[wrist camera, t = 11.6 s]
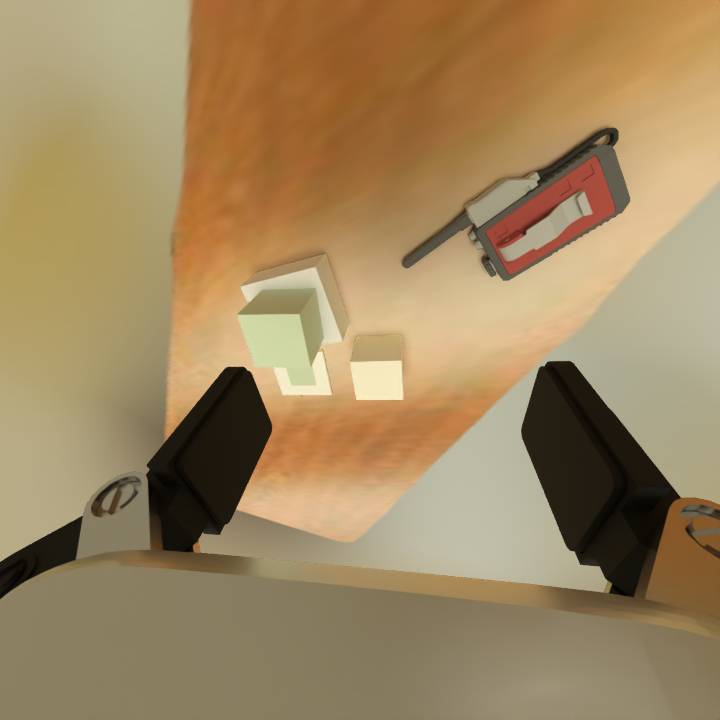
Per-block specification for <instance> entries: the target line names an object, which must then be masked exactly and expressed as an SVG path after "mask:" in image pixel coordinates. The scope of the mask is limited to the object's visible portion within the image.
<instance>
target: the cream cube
mask: <svg viewBox="0 0 720 720" xmlns="http://www.w3.org/2000/svg"><path fill="white" fill-rule="evenodd" d="M350 364H351V370H352V377H353V383H354V389H355V395H356V400H403V350H402V334H401V335H375V336H357V337H356V341H355V345H354V349H353V352H352V356H351V360H350Z"/></svg>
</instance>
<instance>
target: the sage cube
mask: <svg viewBox="0 0 720 720" xmlns="http://www.w3.org/2000/svg"><path fill="white" fill-rule="evenodd" d="M237 317H238V320H239V323H240V326H241V328H242V331H243V334H244V337H245V340H246V343H247V346H248V349H249V351H250V354H251V357H252V360H253V363H254V366H255V367H277V368H311V366H312V364H313V362H314V359H315V357H316V355H317V353H318V350H319V348H320V346H321V343H322V341H323V339H324V334H323V328H322V322H321V316H320V310H319V304H318V298H317V292H316V288H310V289H272V290H261V291H260V292H259V293H258V294H257V295H256V296H255V297H254V298H253V299H252V300H251V301H250V302H249V303H248V304H247V305H246V306H245V307H244V308H243V309H242V310H241V311H240V312H239V313H238V314H237Z"/></svg>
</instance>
